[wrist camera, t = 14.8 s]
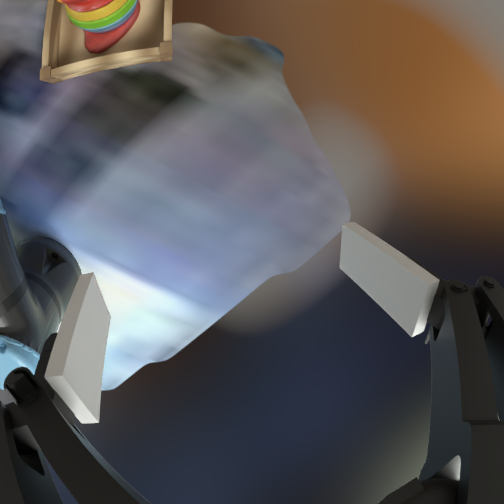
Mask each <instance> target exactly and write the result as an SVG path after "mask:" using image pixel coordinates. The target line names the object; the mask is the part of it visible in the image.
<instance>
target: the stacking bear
mask: <svg viewBox="0 0 504 504" xmlns="http://www.w3.org/2000/svg"><path fill="white" fill-rule="evenodd" d="M56 1H58V2H60V3H65V8H66V12H67V15H68V17H69V19H70V22H71V23H72V24H74V25H76V26H77V27H79V28H81V29H83V31H84V33H85V42H84V44H85V48H86V49H88V51H89V52H90V53H96V54H98V53H101V52H104V51H105V50H107V49H108V48H110V47H111V46H113V45H114V44H115V43H117V42H118V41H119V40H120V39H121V38H122V37H123V36H124V35H125V34H126V33H127V32H128V31H129V30H130V29H131V28H132V26H133V25H134V23H135V22H136V20H137V18H138V16H139V13H140V2H139V0H56Z"/></svg>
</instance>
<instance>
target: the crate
mask: <svg viewBox="0 0 504 504" xmlns="http://www.w3.org/2000/svg"><path fill="white" fill-rule="evenodd" d="M139 2H140V13H139V16H138V18H137V20H136V22H135V23H134V25H133V26H132V28H131V29H130V30H129V31H128V32H127V33H126V34H125V35H124V36H123V37H122V38H121V39H120V40H119V41H118V42H117V43H115V44H114V45H113V46H111V47H110V48H108V49H107V50H105V51H104V52H101V53H98V54H96V53H90V52H89V51H88V49H86V48H85V44H84V42H85V33H84V31H83V29H81V28H79V27H77V26H76V25H74V24H72V23H71V22H70V19H69V17H68V15H67V12H66V8H65V3H60V2H58V1H56V0H48V5H47V12H46V19H45V28H44V38H43V52H42V69H40V80H42V81H46V82H49V83H53V84H54V83H57V82H61V81H63V80H66V79H69V78H73V77H77V76H81V75H85V74H89V73H93V72H98V71H103V70H107V69H113V68H118V67H124V66H130V65H136V64H143V63H151V62H159V61H161V62H165V61H172V0H139Z"/></svg>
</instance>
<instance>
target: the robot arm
mask: <svg viewBox="0 0 504 504" xmlns="http://www.w3.org/2000/svg"><path fill="white" fill-rule="evenodd" d="M340 269H342V270H343V271H344V272H345V273H346V274H347V275H348V276H349V277H350V278H351V279H352V280H354V282H356V283H357V284H358V285H359V286H360V287H361V288H362V289H363V290H364V291H365V292H366V293H367V294H368V295H369V296H370V297H372V299H373V300H375V301H376V302H377V303H378V304H379V305H380V306H381V307H382V308H383V309H384V310H385V311H386V312H387V313H388V314H389V315H390V316H391V317H392V318H393V319H394V320H395V321H396V322H397V323H398V324H399V325H400V326H401V327H402V328H403V329H404V330H405V331H406V332H407V333H408V334H409V335H410V336H411V337H413V336H415V335H417V334H419V333H421V332H423V331H424V328H425V325H426V322H427V321H428V322H429V323H430V324H431V328H430V330H429V333H428V336H427V338H426V341H425V344H427V343H428V340H430V345H431V371H432V372H431V374H432V375H431V376H432V378H431V380H432V386H431V419H430V433H429V444H428V453H427V459H426V463H425V464H424V466H423V468H422V470H421V473H420V475H419V479H417V477H416V478H415V479H413V480H412V481H410V482H408V483H407V484H405V485H404V486H402V487H400V488H399V489H398V490H396V491H394V492H392V493H390V494H389V495H387V496H386V497H385V498H383V499H382V500H381V501H379V502H378V503H377V504H504V290H503V289H502V287H501V286H500V284H499V283H498V282H497V281H496V280H494V279H493V278H491V277H486V276H482V277H480V278H478V281H477V284H476V286H475V287H468V286H467V285H466V284H465V283H463V282H461V281H458V280H449V281H447V282H446V281H445V280H443V279H442V278H440V277H439V276H438V275H436V274H435V273H433V272H432V271H431V270H429V269H427V268H426V267H425V266H424V265H421V263H419V262H418V261H416V260H415V259H413V258H410V257H408V256H405V255H403V254H402V253H401V252H399V251H398V250H396V249H394V248H393V247H392V246H390V245H389V244H387V243H386V242H384V241H383V240H381V239H380V238H378V237H377V236H375V235H373V234H372V233H370V232H369V231H367V230H366V229H364V228H362V227H361V226H359V225H358V224H356V223H355V222H351V223H345V224H342V240H341V255H340ZM489 315H491V317H492V321H491V323H490V325H488V324H487V320H488V318H489ZM110 319H111V316H110V314H109V311H108V309H107V306H106V304H105V301H104V299H103V296H102V294H101V291H100V288H99V286H98V283H97V280H96V278H95V275H94V272H93V273H88V274H83V275H82V274H81V270H80V268H79V265H78V263H77V262H76V260H75V258H74V257H73V256H72V254H71V253H70V252H69V251H68V250H67V249H66V248H65V247H64V246H62V245H61V244H59V243H58V242H56V241H54V240H52V239H49V238H45V237H32V238H29V239H26V240H24V241H23V242H21V243H20V244H19V245H18V246H17V247H16V248H15V245H14V242H13V239H12V236H11V232H10V229H9V226H8V222H7V218H6V211H5V210H4V209H3V205H2V202H1V198H0V389H3V390H5V392H6V393H7V394H8V395H9V396H10V398H11V399H12V400H13V401H14V402H12V403H10V404H7V405H3V404H2V402H1V401H0V504H63V502H62V500H61V498H60V495H59V493H58V491H57V489H56V486H55V484H54V481H53V479H52V476H51V473H50V471H49V468H48V466H47V463H46V460H45V457H46V458H47V460H48V461H49V463H50V465H51V466H52V467H53V469H54V470H55V472H56V474H57V475H58V476H59V478H60V479H61V481H62V482H63V483H64V484H65V486H66V487H67V489H68V490H69V491H70V493H71V494H72V495H73V497H74V498H75V499H76V500H77V502H78V503H79V504H151V503H150V502H148V501H147V500H146V499H145V498H144V497H143V496H142V495H140V494H139V493H138V492H137V491H136V490H135V489H134V488H133V487H132V486H131V485H129V484H128V483H127V482H126V481H125V480H124V479H123V478H122V477H121V476H120V475H119V474H118V473H117V472H116V471H115V470H114V469H113V468H112V467H111V466H110V465H109V464H108V463H107V462H106V460H104V458H103V457H102V456H101V455H100V454H99V453H98V452H97V451H96V449H95V448H94V447H93V446H92V445H91V444H90V442H89V441H88V440H87V439H86V438H85V436H84V435H83V434H82V433H81V432H80V431H79V429H78V428H77V427H76V426H75V425H74V417H75V416H76V417H77V418H78V419H79V420H80V422H81V423H98V422H99V411H100V397H101V386H102V376H103V367H104V359H105V351H106V344H107V338H108V331H109V325H110ZM61 321H62V322H61ZM60 322H61V325H60V328H59V331H58V333H57V330H58V327H59V324H60ZM497 413H498V416H499V419H500V421H499V420H498V416H497ZM44 455H45V457H44Z"/></svg>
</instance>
